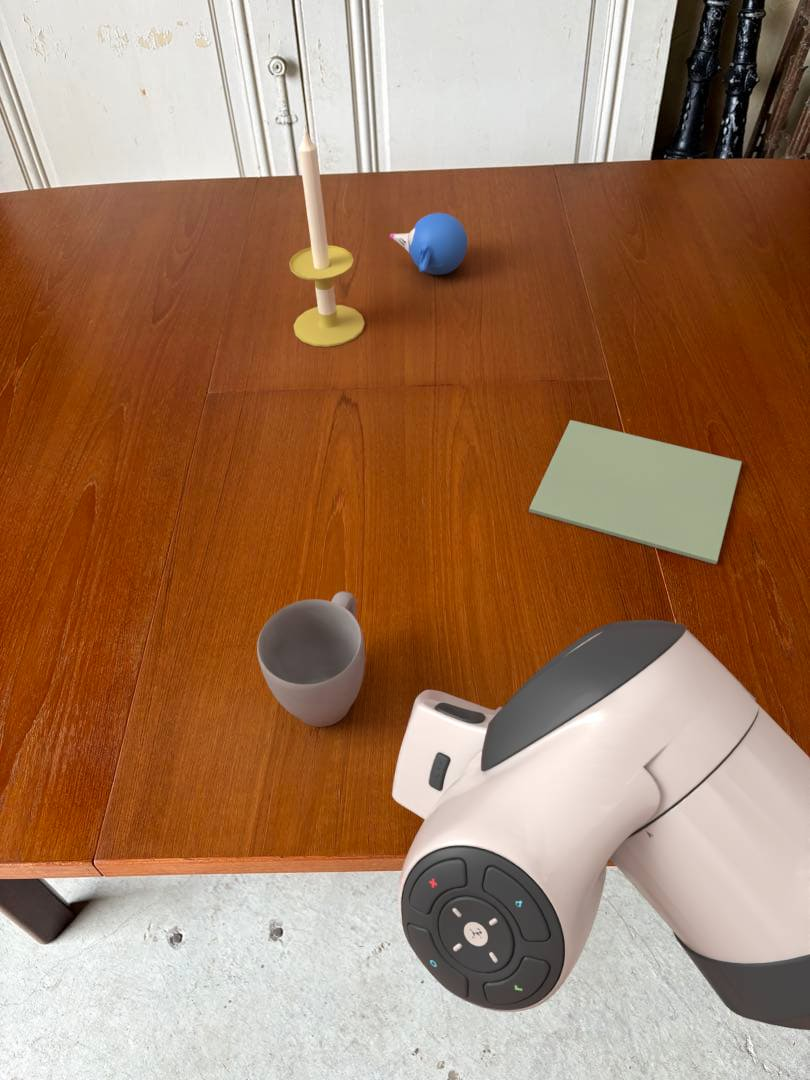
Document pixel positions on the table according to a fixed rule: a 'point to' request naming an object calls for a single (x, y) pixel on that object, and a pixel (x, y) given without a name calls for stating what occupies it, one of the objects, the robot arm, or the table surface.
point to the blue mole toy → (435, 243)
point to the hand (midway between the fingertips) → (566, 741)
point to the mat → (639, 490)
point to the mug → (314, 658)
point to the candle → (322, 267)
